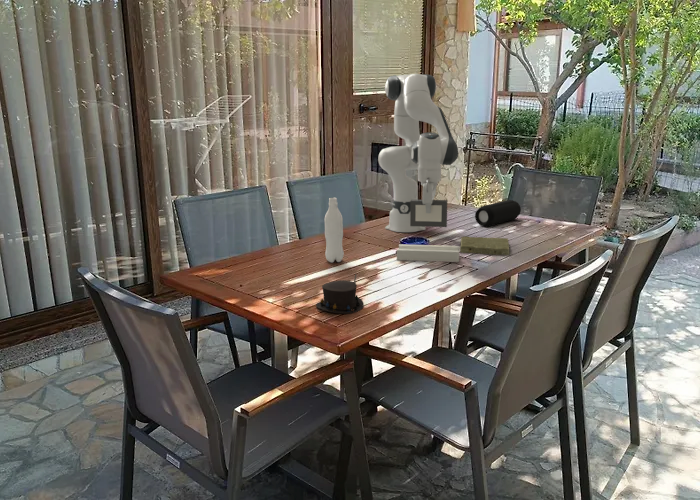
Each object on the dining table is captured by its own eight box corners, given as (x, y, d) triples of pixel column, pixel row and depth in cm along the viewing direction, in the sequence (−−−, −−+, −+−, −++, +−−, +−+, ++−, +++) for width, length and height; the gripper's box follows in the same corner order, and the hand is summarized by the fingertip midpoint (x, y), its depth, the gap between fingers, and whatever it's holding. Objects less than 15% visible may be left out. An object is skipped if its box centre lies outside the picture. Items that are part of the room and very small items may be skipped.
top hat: (341, 319, 186) (340, 286, 184) (306, 307, 196) (304, 276, 194) (373, 305, 197) (373, 274, 194) (338, 295, 207) (338, 265, 204)
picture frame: (411, 224, 247) (411, 199, 244) (446, 225, 244) (447, 200, 241) (410, 226, 244) (410, 201, 241) (446, 227, 241) (447, 201, 238)
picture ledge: (399, 253, 254) (399, 244, 253) (459, 255, 249) (459, 246, 248) (396, 259, 245) (396, 250, 244) (458, 262, 241) (458, 252, 240)
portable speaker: (505, 217, 316) (506, 198, 313) (521, 220, 308) (523, 200, 306) (473, 225, 300) (473, 205, 297) (489, 229, 293) (490, 208, 290)
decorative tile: (460, 243, 270) (460, 235, 269) (508, 244, 266) (508, 236, 265) (458, 254, 253) (459, 246, 252) (509, 256, 249) (510, 248, 248)
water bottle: (335, 257, 250) (333, 195, 244) (347, 260, 245) (346, 198, 239) (321, 261, 246) (319, 198, 239) (334, 264, 241) (332, 200, 234)
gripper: (436, 180, 228) (435, 217, 232) (439, 172, 248) (438, 206, 251) (418, 180, 229) (418, 217, 233) (423, 172, 249) (422, 206, 252)
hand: (428, 211), depth 242 cm, fingers closed on picture frame, 3 cm apart
